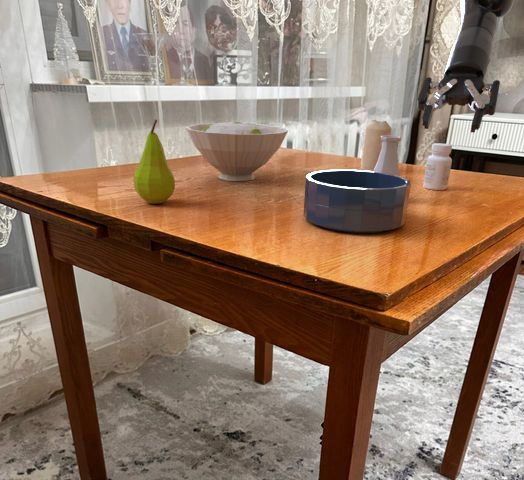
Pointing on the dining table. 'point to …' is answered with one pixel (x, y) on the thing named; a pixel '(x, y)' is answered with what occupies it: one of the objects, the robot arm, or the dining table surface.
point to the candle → (373, 143)
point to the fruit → (154, 172)
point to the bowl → (236, 146)
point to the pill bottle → (438, 167)
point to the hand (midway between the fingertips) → (449, 127)
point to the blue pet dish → (356, 200)
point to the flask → (388, 155)
